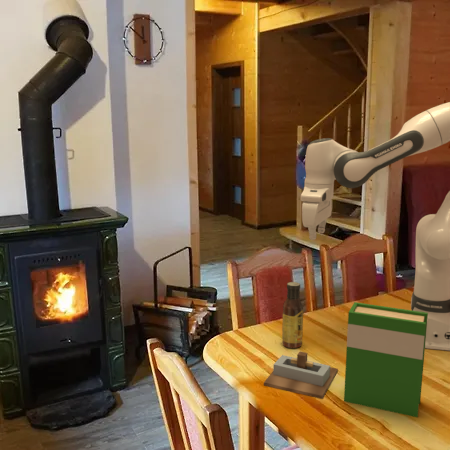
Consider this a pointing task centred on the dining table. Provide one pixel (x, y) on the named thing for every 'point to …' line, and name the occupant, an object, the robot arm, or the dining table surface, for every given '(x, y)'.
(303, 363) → the post fixture
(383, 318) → the hardback book
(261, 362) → the dining table surface
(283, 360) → the grey rectangular frame
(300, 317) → the sauce bottle
